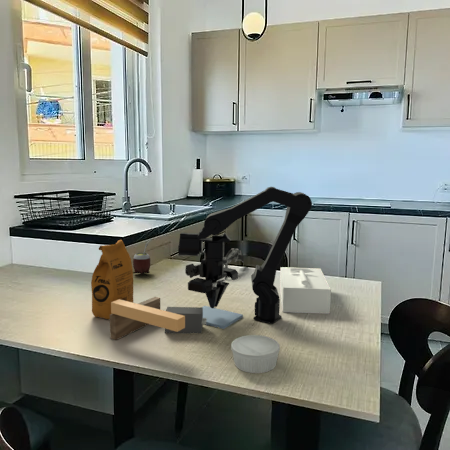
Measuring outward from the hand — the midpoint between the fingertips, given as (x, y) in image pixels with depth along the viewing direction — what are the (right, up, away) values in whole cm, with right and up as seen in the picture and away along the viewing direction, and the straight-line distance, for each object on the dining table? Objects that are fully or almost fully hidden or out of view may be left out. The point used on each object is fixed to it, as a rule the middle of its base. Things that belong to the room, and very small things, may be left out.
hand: (213, 307), depth 128 cm
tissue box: (+30, -2, +18) cm, 35 cm away
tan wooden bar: (-16, 0, -19) cm, 25 cm away
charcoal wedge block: (-8, -5, -8) cm, 13 cm away
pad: (0, -4, +1) cm, 4 cm away
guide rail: (-21, -4, -7) cm, 23 cm away
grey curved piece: (+7, +5, +56) cm, 56 cm away
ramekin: (+10, -9, -28) cm, 31 cm away
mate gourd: (-31, +4, +49) cm, 58 cm away
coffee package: (-31, -3, +4) cm, 32 cm away
